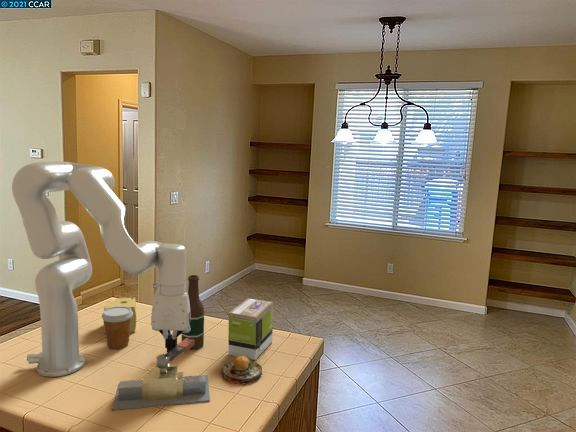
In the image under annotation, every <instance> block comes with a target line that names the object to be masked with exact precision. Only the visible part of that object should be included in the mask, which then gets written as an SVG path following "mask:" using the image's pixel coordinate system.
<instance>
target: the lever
mask: <svg viewBox="0 0 576 432" xmlns="http://www.w3.org/2000/svg"><path fill="white" fill-rule="evenodd" d="M194 345H195V340H192V339H188V338H186V339H184V340H183V341H182V340H181V341H180V342H179V343H177V345H176V347H175V348H173V349H172V350H170V351H169V352H166V353H162V354H159V355H158V356H156V368H157V367H158V368H161V369H163V368H167V367H171V366H170V364H171V362H172V361H174V360H176V358H178V357H179V356H181V355H182V354H183V353H186V352H187V351H190V350H189V349H190V348H191V347H193V346H194Z"/></svg>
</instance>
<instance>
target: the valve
mask: <svg viewBox="0 0 576 432" xmlns="http://www.w3.org/2000/svg"><path fill="white" fill-rule="evenodd" d="M205 375H206V374H202V375H199V374H198V375H187V376H185V375H184V371H178V365H173V366H169V367H167V368H163V369H161V368H158V367H157V366H156V367H150V370H149V373H148V374H147V373H146V374H143V379H135V380H134V379H133V380H121V381H119V384H118V387H119V388H118V387H117V391H118V397H119V401H120V400H132V399H142V400H149V401H156V400H168V399H177V397H183V395H190V394H202V393H206V378H205Z"/></svg>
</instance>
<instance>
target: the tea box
mask: <svg viewBox="0 0 576 432" xmlns="http://www.w3.org/2000/svg"><path fill="white" fill-rule="evenodd" d="M273 322H274V302H273V301H269V300H262V299H261V300H259V299H253V298H249V297H248V298H246V299H245V300H244V301H242V302H241V303H240V304H239V305H237V306H236V307H234V308H233V309H232V310H231V311H229V312H228V328H227V329H228V341H227V342H228V347H227V348H228V350H227V351H228V355H229V356H232V357H233V356H235V357H236V358H237V357H238V356H241V355H242V356H245V357H247V358H248V360H251V361H256V360H257V359H258V358H259V357H260V356H261V354H262V353H264V351H265V350H266V349H267V348H268V347H269V346H270V345H271V344H272V343H273V341H274V340H273V339H274V338H273V337H274V335H273V334H274V332H273V329H274V323H273Z"/></svg>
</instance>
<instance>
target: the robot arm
mask: <svg viewBox="0 0 576 432" xmlns="http://www.w3.org/2000/svg"><path fill="white" fill-rule="evenodd" d="M115 186H116V182H115V177H114V175H113V173H112V172H111V171H109V169H107V168H105V167H102V166H97V165H89V164H83V163H79V162H78V163H77V162H72V161H71V162H70V161H38V162H32V163H28V164H26V165H24V166H22V167H21V168H19V170H18V171H16V173H15V174H14V177H13V179H12V183H11V191H12V197H13V199H14V201H15V203H16V205H17V207H18V211H19V213H20V216H21V220H22V223H23V227H24V231H25V234H26V236H27V240H28V243H29V246H30V249H31V251H32V253H33V255H34V256H35V257H36V258H37V259H41V260H48V259H52V258H53V259H54V258H55V257H58V259H59V260H56V261H54V262H51V263H48V264H47V265H45V266H43V267H41V268H40V270H39V271H37V273H36V275H35V279H34V286H35V290H36V293H37V296H38V297H37V298H38V304H39V311H40V312H39V313H40V330H41V332H40V333H41V335H40V336H41V351H40V352H39V353H27V355H26V361H27V362H28V364H30V365H31V364H37V366H36V372H37V373H38V374H39V375H40V376H42V377H48V378H49V377H51V378H53V377H61V376H67V375H70V374H73V373H75V372H77V371H79V370H81V369H82V368H83V367H84V366H85V363H86V358H85V356H83V355H82V354H80V343H79V341H80V340H79V338H80V337H79V315H78V313H79V312H78V304H77V301H76V298H75V296H74V294H73V290H75V289H77V288H79V287H81V286H83V285H84V284H86V283H87V282H88V281H89V280H90V279H91V277H92V275H93V265H92V261H91V257H90V253H89V250H88V246H87V244H86V243H87V242H86V239H85V236H84V234H83V231H82V230H81V229H80V227H79V226H78V225H77V224H75V223H74V222H71V221H68V220H60V221H59V218H58V215H57V210H56V208H55V206H54V204H53V203H52V201H51V200H50V199H49V197H48V196H47V194H49V193H53V192H55V193H56V192H61V191H70V192H71V193H72V194H73V196H74V197H75V198H76V200H77V201H78V202H79V203H80V205H81V206H82V207H83V208H84V209H85V211H86V212H87V213H88V214H89V215H90V216H91V217H92V218H93V220H94V221H95V222H96V223H97V224H98V226H99V230H100V231H99V232H100V236H101V239H102V242H103V244H104V247H105V249H106V250H107V251H106V252H107V253H108V254H109V255H110V257H112V259H113V260H114V261H115V263H116V264H118V266H119V267H120V268H121V269H122V270H124V271H125V272H126V273H128V274H131V275H135V276H137V275H142V274H143V273H145V272H147V271H148V270H150V269H153V268H156V267H157V282H155V283H152V288H153V289H156V292H155V293H154V295H153V301H152V307H151V315H150V320H151V321H150V325H151V329H152V331H154V332H159V333H160V334H161V336H163V338H164V339H165V340H164V348H165V349H166V353H168V352H169V351H170V350H172V349H173V348H175V347H176V345H177V344H178V338H179V336H180V335H182V333H188V332H189V331H190V330H191V328H190V319H191V315H190V302H189V296H188V291H187V290H186V289H187V287H186V286H187V285H186V284H187V283H186V282H187V281H186V280H187V248H186V247H185V246H184V245H182V244H179V243H165V242H160V241H158V240H157V241H156V240H145V241H143V242H140V243H136V242H135V241H134V240H133V238H132V237H131V236H130V235H129V232H128V231H127V229H126V228H125V215H126V212H127V208H126V206H125V204H124V203H123V202H122V201H121V200H120V198H119V197H118V196H117V195H116V193H115V192H114V191H113V190H114V188H115ZM171 331H172V333H171Z"/></svg>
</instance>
